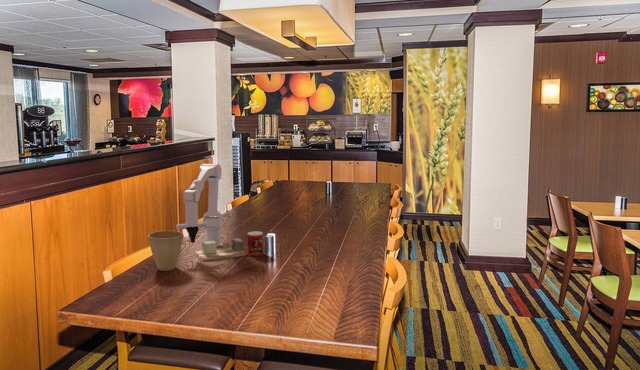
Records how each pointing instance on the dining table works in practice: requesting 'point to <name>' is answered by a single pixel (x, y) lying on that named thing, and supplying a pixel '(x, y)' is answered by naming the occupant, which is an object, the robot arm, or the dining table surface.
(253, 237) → the canned food
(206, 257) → the stud board
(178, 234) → the plant pot
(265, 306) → the dining table surface
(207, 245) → the pale green cube
